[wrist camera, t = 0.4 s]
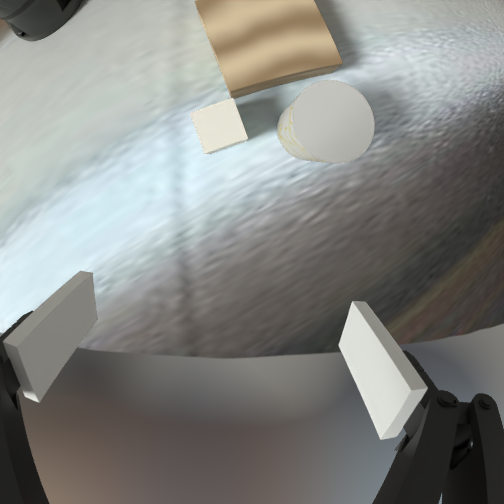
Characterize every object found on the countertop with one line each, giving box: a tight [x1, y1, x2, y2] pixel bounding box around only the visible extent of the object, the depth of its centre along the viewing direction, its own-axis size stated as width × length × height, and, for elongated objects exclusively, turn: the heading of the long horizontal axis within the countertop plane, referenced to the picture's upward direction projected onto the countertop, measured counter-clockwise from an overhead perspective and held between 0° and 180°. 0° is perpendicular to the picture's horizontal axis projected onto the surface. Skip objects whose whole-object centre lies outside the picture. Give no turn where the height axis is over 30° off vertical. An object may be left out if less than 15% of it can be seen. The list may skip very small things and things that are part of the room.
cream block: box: [190, 98, 248, 154], centre depth 33 cm, size 5×5×6 cm
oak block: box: [195, 0, 343, 99], centre depth 29 cm, size 14×14×5 cm
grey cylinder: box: [277, 80, 375, 163], centre depth 30 cm, size 8×8×12 cm
